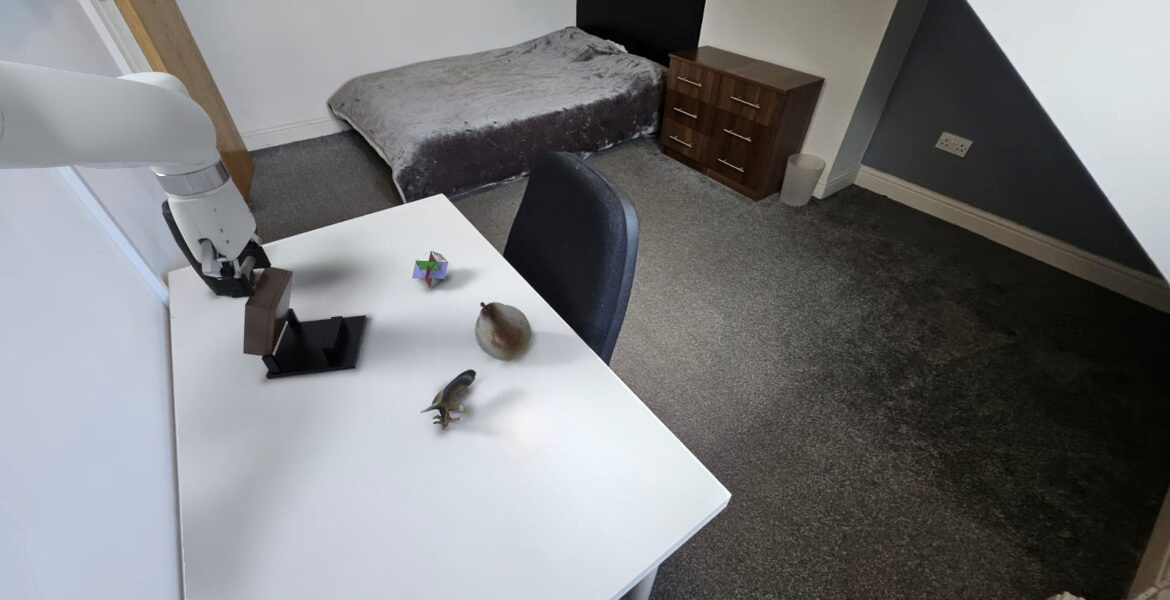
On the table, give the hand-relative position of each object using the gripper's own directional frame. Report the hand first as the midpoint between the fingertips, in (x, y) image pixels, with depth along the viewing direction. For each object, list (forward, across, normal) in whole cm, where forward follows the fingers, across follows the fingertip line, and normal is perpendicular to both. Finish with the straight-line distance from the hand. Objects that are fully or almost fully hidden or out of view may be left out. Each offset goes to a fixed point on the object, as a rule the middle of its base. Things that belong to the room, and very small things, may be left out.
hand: (252, 280), depth 74 cm
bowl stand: (+16, 0, +5) cm, 17 cm away
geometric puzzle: (+16, -16, +24) cm, 33 cm away
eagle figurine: (+16, +18, +29) cm, 38 cm away
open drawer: (+6, 0, +2) cm, 6 cm away
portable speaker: (+16, -21, -16) cm, 31 cm away
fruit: (+16, +5, +38) cm, 42 cm away
